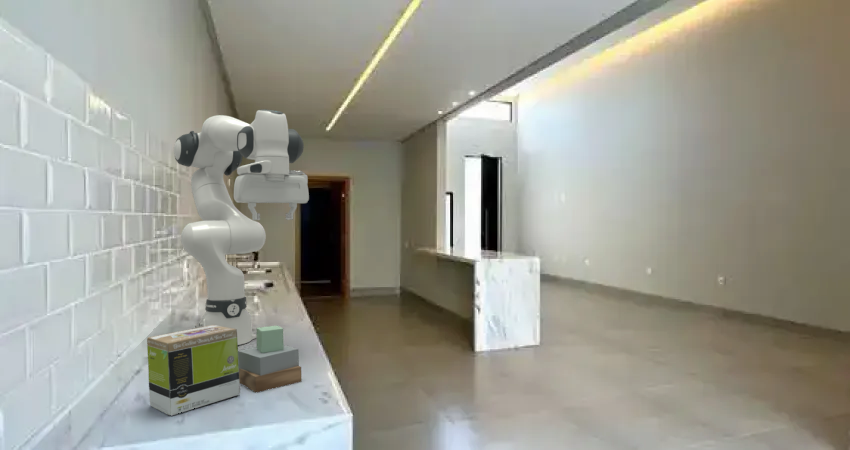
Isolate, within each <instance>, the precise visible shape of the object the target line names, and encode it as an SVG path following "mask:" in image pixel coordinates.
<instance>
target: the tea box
mask: <svg viewBox="0 0 850 450" xmlns="http://www.w3.org/2000/svg"><path fill="white" fill-rule="evenodd" d="M146 343H147V345H146V347H147V362H148V364H147V365H148V367H147V368H148V369H147V370H148V395H149V404H150V406H151V407H152V408H154V409H155V410H157V411H160V412H161V413H163V412H164V414H166V415H168V416H170V415H171V417H172V416H175V415H178V413H179V414H181V412H182V413H185V412H188V411H191V410H193V409H194V408H195V409H198V408H200V407H204V406H207V405H210V404H214V403H216V402H219V401H223V400H227V399H229V398H232V397H236V396H239V395H241V387H240V386H241V383H240V381H239V360H238V351H239V347H238V346H239V345H238V341H237V329H233V328H227V327H222V326H216V325H209V326H205V327H200V328H195V327H193V328H191V329H184V330H179V331H174V332H173V331H172V332H169V333H165V334H164V333H163V334H160V335H159V334H158V335H153V336H149V337H147V338H146Z"/></svg>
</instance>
